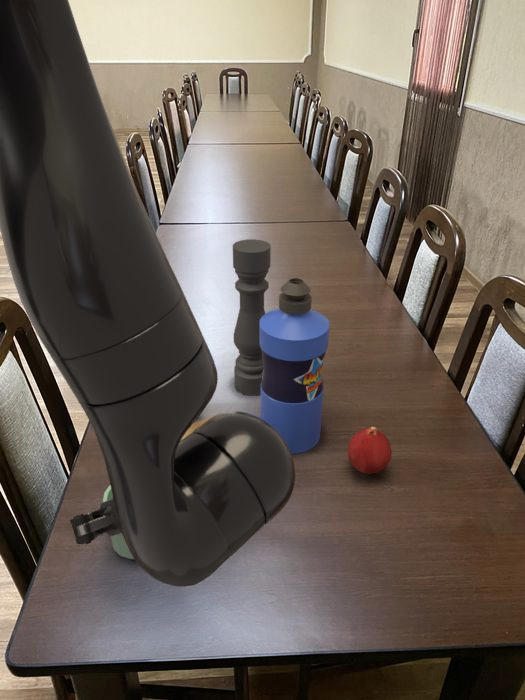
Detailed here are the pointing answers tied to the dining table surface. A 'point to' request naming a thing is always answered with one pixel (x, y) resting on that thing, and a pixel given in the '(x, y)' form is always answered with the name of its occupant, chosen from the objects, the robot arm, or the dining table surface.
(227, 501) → the robot arm
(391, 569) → the dining table surface
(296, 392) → the water bottle
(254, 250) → the candle holder
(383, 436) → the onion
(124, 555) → the green cup
